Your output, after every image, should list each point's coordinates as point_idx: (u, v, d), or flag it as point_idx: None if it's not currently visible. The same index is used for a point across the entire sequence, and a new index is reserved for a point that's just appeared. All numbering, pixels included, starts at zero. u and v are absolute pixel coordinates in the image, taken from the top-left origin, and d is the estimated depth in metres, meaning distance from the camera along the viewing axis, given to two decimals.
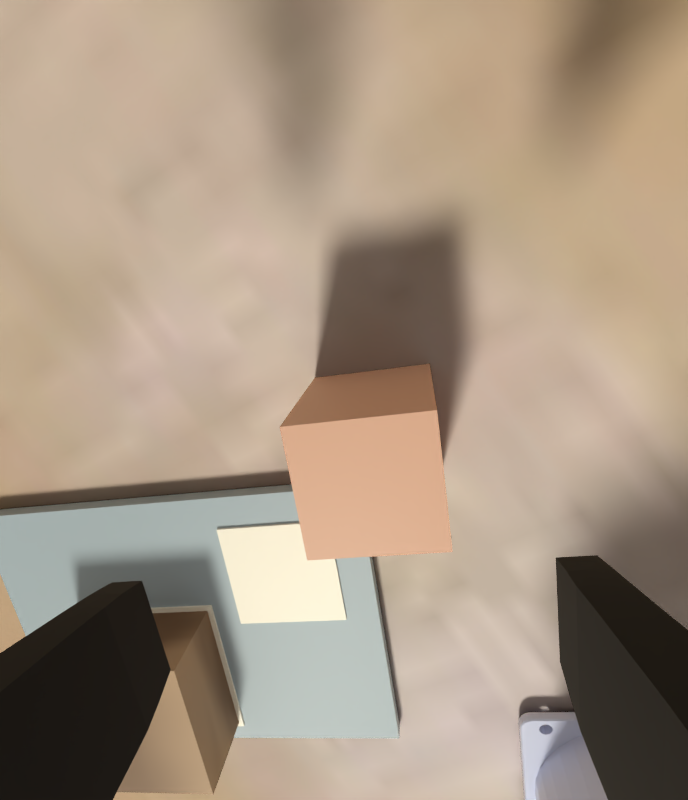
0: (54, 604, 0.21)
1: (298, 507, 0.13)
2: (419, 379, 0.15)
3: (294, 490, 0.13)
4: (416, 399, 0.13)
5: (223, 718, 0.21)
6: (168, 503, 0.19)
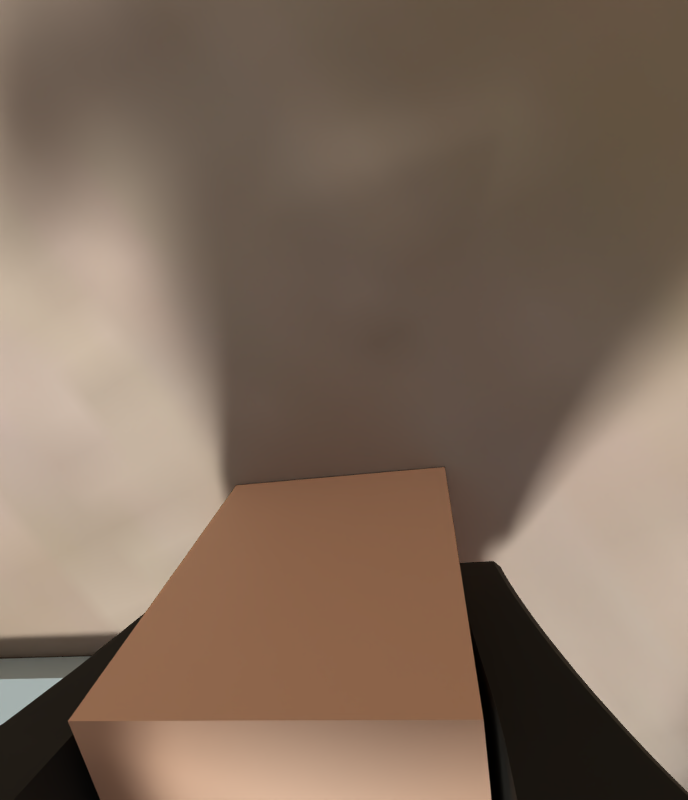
0: None
1: None
2: (427, 527, 0.07)
3: None
4: (421, 631, 0.05)
5: None
6: (1, 680, 0.11)
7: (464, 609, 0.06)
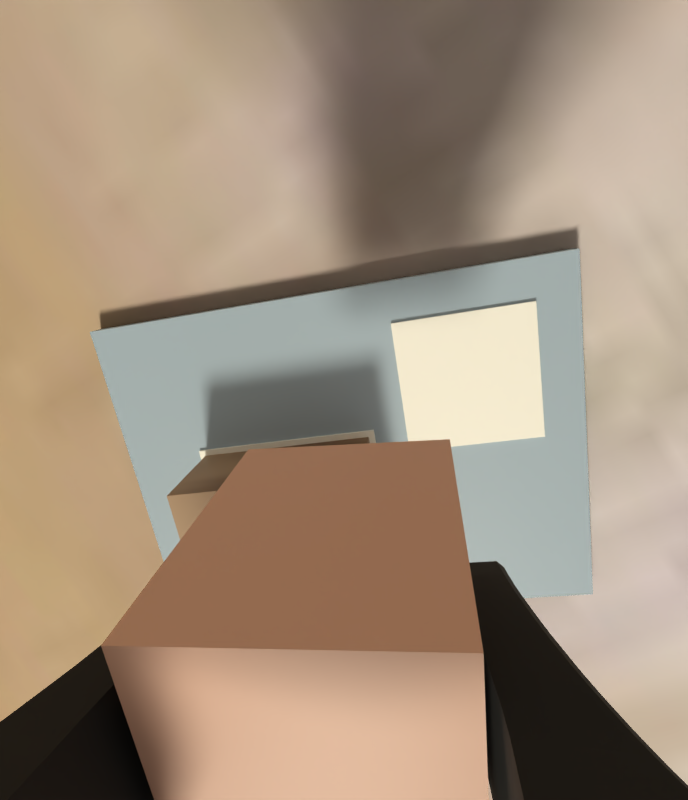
0: (177, 443, 0.18)
1: (156, 796, 0.06)
2: (433, 491, 0.08)
3: (146, 764, 0.06)
4: (427, 580, 0.06)
5: None
6: (330, 294, 0.16)
7: (467, 562, 0.06)
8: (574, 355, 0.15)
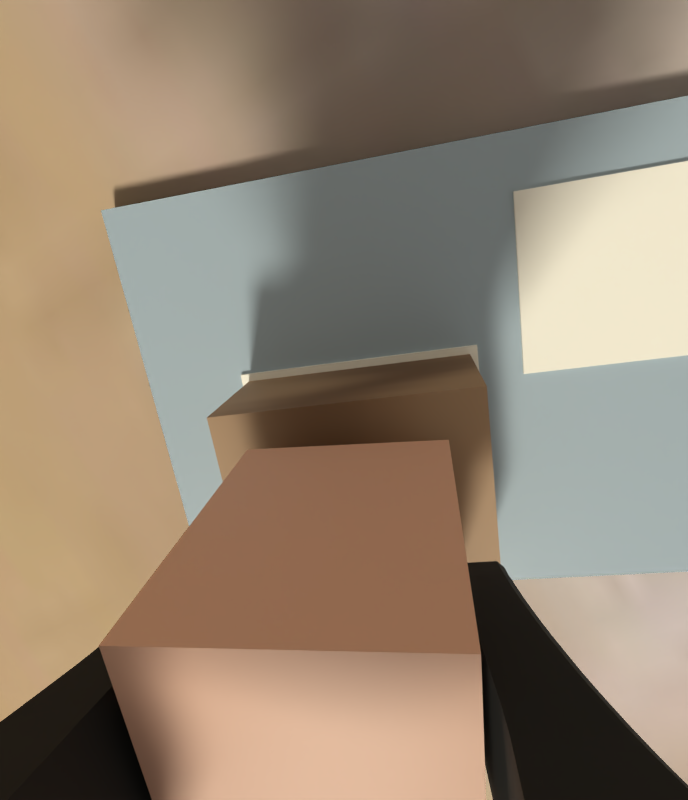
0: (212, 365, 0.14)
1: (154, 796, 0.06)
2: (431, 492, 0.08)
3: (144, 765, 0.06)
4: (426, 580, 0.06)
5: None
6: (431, 151, 0.12)
7: (465, 563, 0.06)
8: None
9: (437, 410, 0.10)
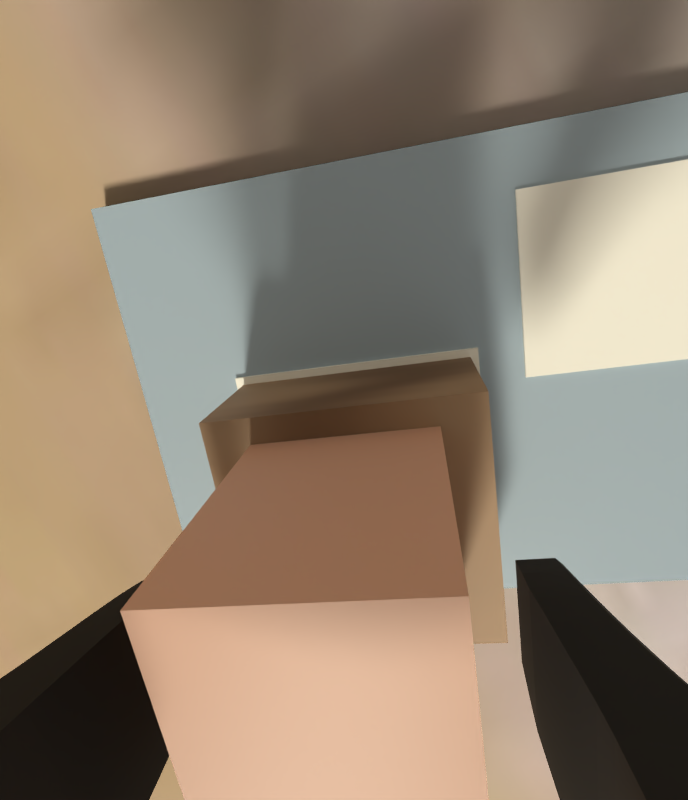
0: (206, 368, 0.13)
1: (174, 759, 0.06)
2: (424, 470, 0.08)
3: (163, 728, 0.06)
4: (418, 542, 0.06)
5: None
6: (431, 148, 0.11)
7: (455, 526, 0.06)
8: None
9: (437, 416, 0.10)
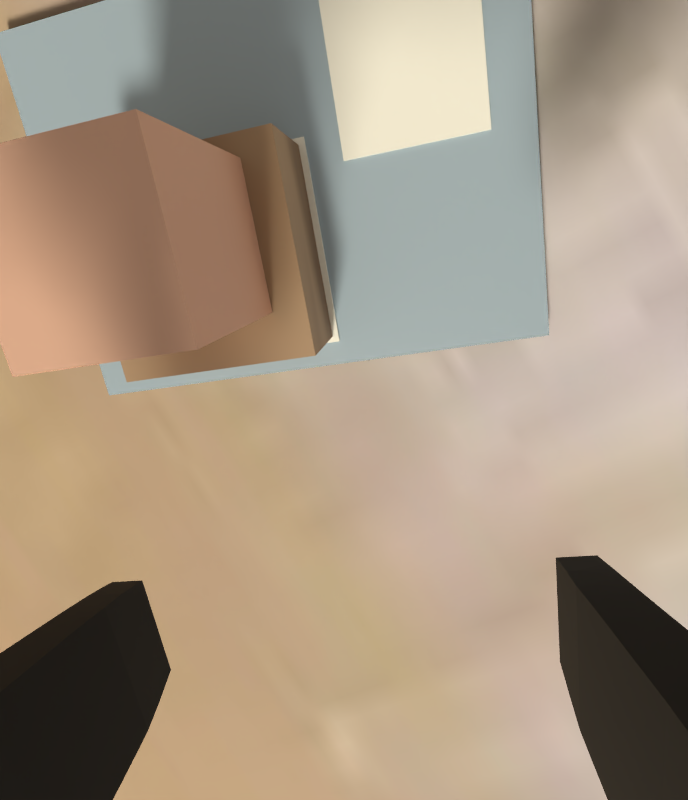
0: None
1: None
2: None
3: None
4: None
5: (319, 298, 0.16)
6: None
7: (173, 128, 0.09)
8: (522, 19, 0.14)
9: (237, 149, 0.13)
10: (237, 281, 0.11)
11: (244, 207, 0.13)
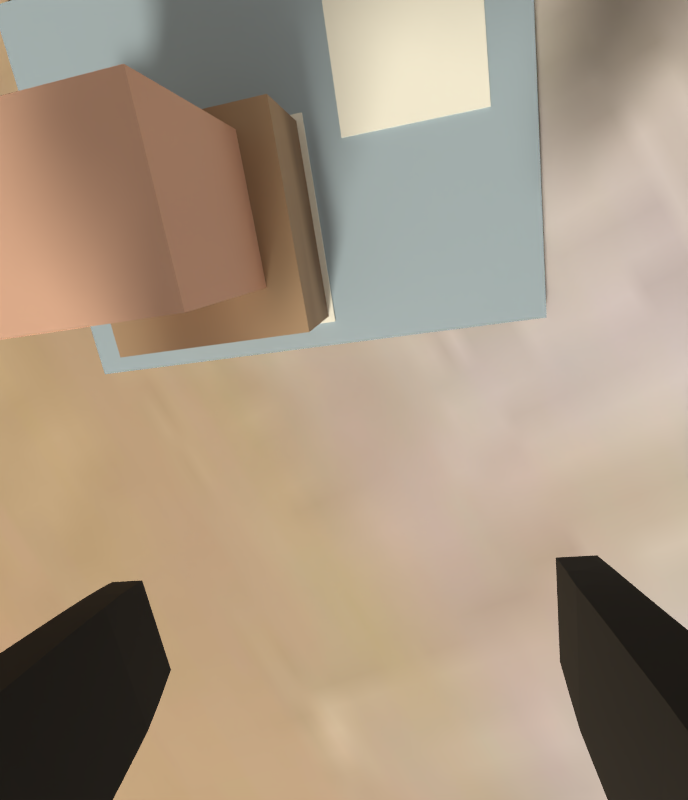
0: None
1: None
2: None
3: None
4: None
5: (315, 276, 0.15)
6: None
7: (164, 89, 0.09)
8: None
9: (232, 120, 0.13)
10: (229, 251, 0.11)
11: (238, 179, 0.12)
